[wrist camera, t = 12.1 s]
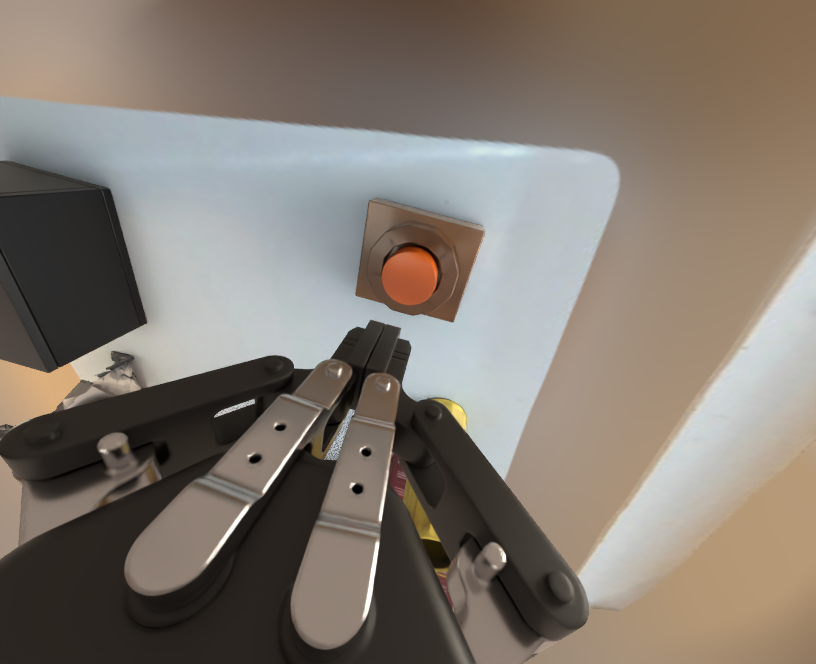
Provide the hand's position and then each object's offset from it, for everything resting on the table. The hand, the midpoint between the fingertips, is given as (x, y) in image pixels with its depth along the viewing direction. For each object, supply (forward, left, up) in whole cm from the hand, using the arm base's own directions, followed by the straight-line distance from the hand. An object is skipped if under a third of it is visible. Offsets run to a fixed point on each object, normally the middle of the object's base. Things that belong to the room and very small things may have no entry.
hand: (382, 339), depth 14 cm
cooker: (+8, -34, -14) cm, 38 cm away
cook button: (0, 0, -10) cm, 10 cm away
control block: (0, 0, -14) cm, 14 cm away
